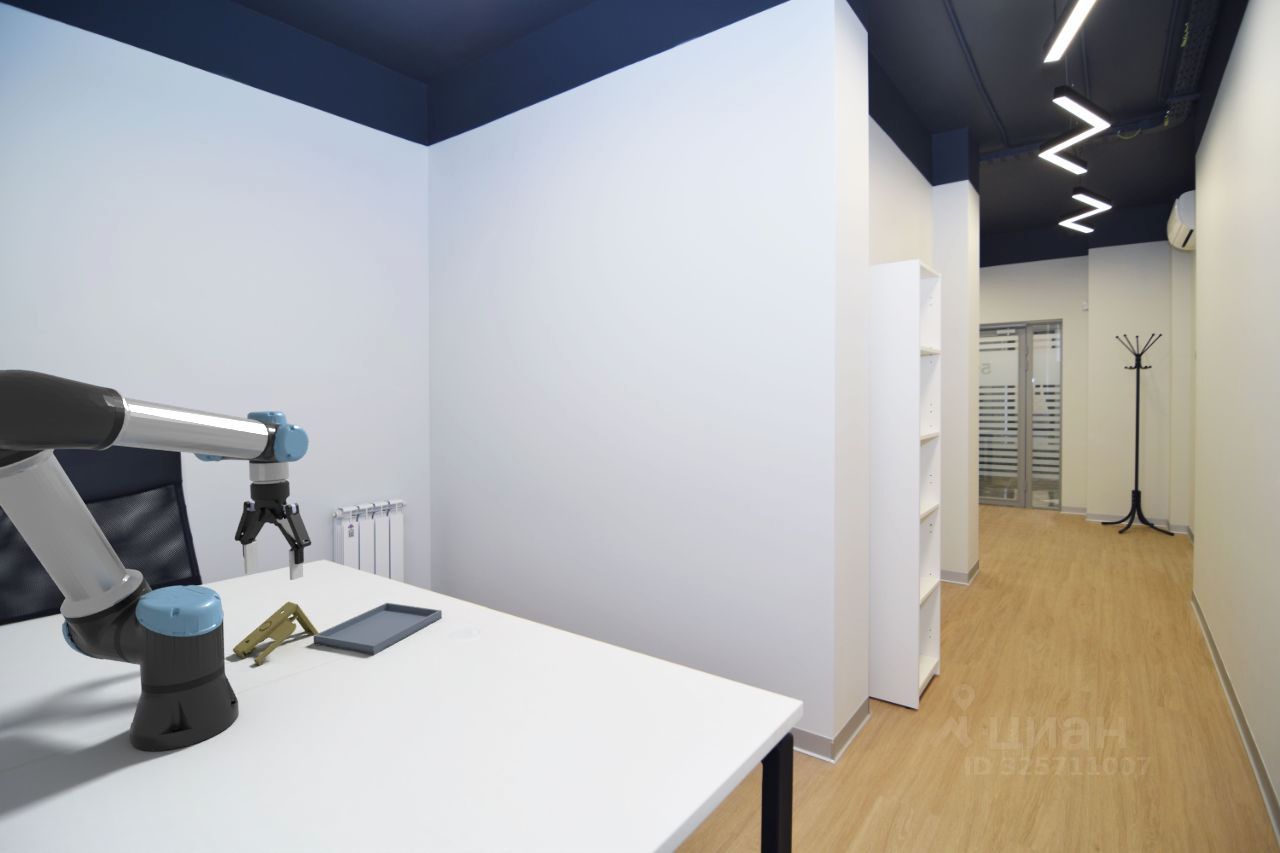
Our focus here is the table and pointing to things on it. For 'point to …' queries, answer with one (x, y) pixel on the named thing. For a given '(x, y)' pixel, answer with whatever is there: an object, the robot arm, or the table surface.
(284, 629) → the bracket
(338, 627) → the tray
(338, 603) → the table surface
